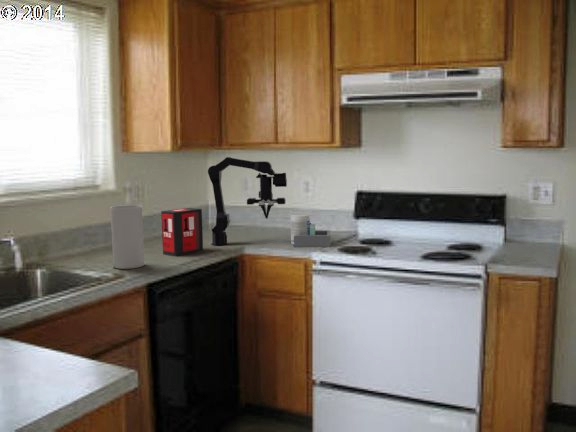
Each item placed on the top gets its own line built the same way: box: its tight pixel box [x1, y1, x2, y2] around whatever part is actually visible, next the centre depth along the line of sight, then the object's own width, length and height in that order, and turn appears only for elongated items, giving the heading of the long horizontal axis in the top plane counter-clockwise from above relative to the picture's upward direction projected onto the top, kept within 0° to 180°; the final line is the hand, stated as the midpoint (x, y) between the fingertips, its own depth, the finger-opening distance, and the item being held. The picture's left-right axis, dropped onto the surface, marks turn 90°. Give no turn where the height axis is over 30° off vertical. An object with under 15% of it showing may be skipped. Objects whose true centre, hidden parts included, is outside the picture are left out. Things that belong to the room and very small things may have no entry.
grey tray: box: [293, 230, 331, 248], centre depth 300 cm, size 18×17×6 cm
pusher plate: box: [310, 223, 316, 235], centre depth 300 cm, size 2×13×9 cm, turn 176°
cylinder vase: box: [110, 204, 145, 270], centre depth 251 cm, size 12×12×25 cm
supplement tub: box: [290, 213, 311, 246], centre depth 300 cm, size 10×10×15 cm
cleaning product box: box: [160, 207, 204, 257], centre depth 282 cm, size 16×9×20 cm, turn 139°
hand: (266, 218), depth 300 cm, fingers closed
